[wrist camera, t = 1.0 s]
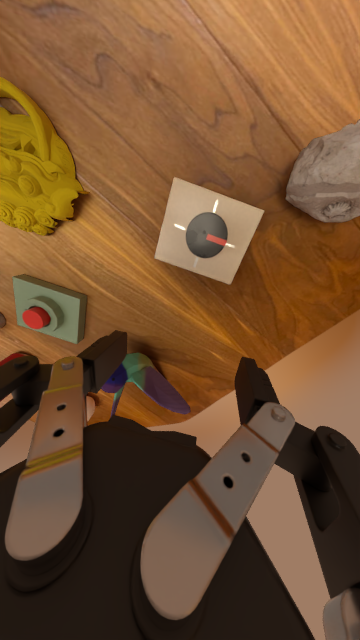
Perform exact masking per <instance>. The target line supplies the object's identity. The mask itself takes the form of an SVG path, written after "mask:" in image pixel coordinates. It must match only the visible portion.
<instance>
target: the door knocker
mask: <svg viewBox="0 0 360 640" xmlns="http://www.w3.org/2000/svg"><path fill="white" fill-rule="evenodd" d="M0 97H8V98H12V99H15V100H17V101H18V102H19V103H20V104H21V105H22V106H23V107H24V109H25V110H26V111H27V113H28V114H29V116H30V117H29V116H26V115H22V114H15V115H12V114H11V113H10V112H9V111H7V110H6V109H4V108H2V107H0V221H3V222H4V223H5V224H7V225H9V226H11V227H14V228H19V229H21V230H23V231H26V232H32V231H34V232H35V233H37V234H39V235H44V236H45V235H46V234H47V231H48V233H52V232H54V231H53V230H51V229H49V228H47V227H46V226H48V227H51V228H58V227H54V226H52V225H53V223H54V220H53V219H52V218H51V217H53V218H55V219H59V220H63V221H73V220H68V219H66V217H68V218H69V217H70V218H71V217H74V216H73V212H74V210H73V207H72V205H74V204H71V201H72V200H73V198H77V197H78V196H79V195H78V193H77V192H79V193H81V194H89V193H90V192H86V191H84V190H83V188H82V186H81V185H80V183H79V182H78V180H76V179H75V176H76V175H75V166H74V162H73V159H72V155H71V153H70V152H69V150H68V147H67V145H66V144H65V142H64V141H63V140H62V139H61V138H60V137H59V136H58V135H57V133H56V131H55V129H54V127H53V125H52V123H51V122H50V120H49V118H48V117H47V116H46V114H45V112H44V111H42V110H41V109H40V108H39V107H38V105H37V104H36V103H35V102H34V101H33V100H32V99H31V98H30V97H29V96H28V95H27V94H26V93H24V92H23V91H21V90H20V89H19V88H17V87H16V86H15V85H13V84H12V83H10V82H9V81H7V80H6V79H4V78H2V77H0ZM50 216H51V217H50ZM56 224H58V223H57V222H55V225H56ZM44 225H45V226H44ZM47 236H48V235H47Z"/></svg>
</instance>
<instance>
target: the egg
mask: <svg viewBox="0 0 360 640" xmlns="http://www.w3.org/2000/svg"><path fill="white" fill-rule="evenodd" d="M86 400H87V421H88V420H89V419H90V418H91V416H92V415H93V413H94V410H95V402H94V400H93V398H92V397H89V396H86Z"/></svg>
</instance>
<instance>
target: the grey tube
mask: <svg viewBox="0 0 360 640" xmlns="http://www.w3.org/2000/svg"><path fill="white" fill-rule="evenodd" d="M4 325H5V318H4V316H3V315H2V314H1V313H0V328H1V327H3V326H4Z"/></svg>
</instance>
